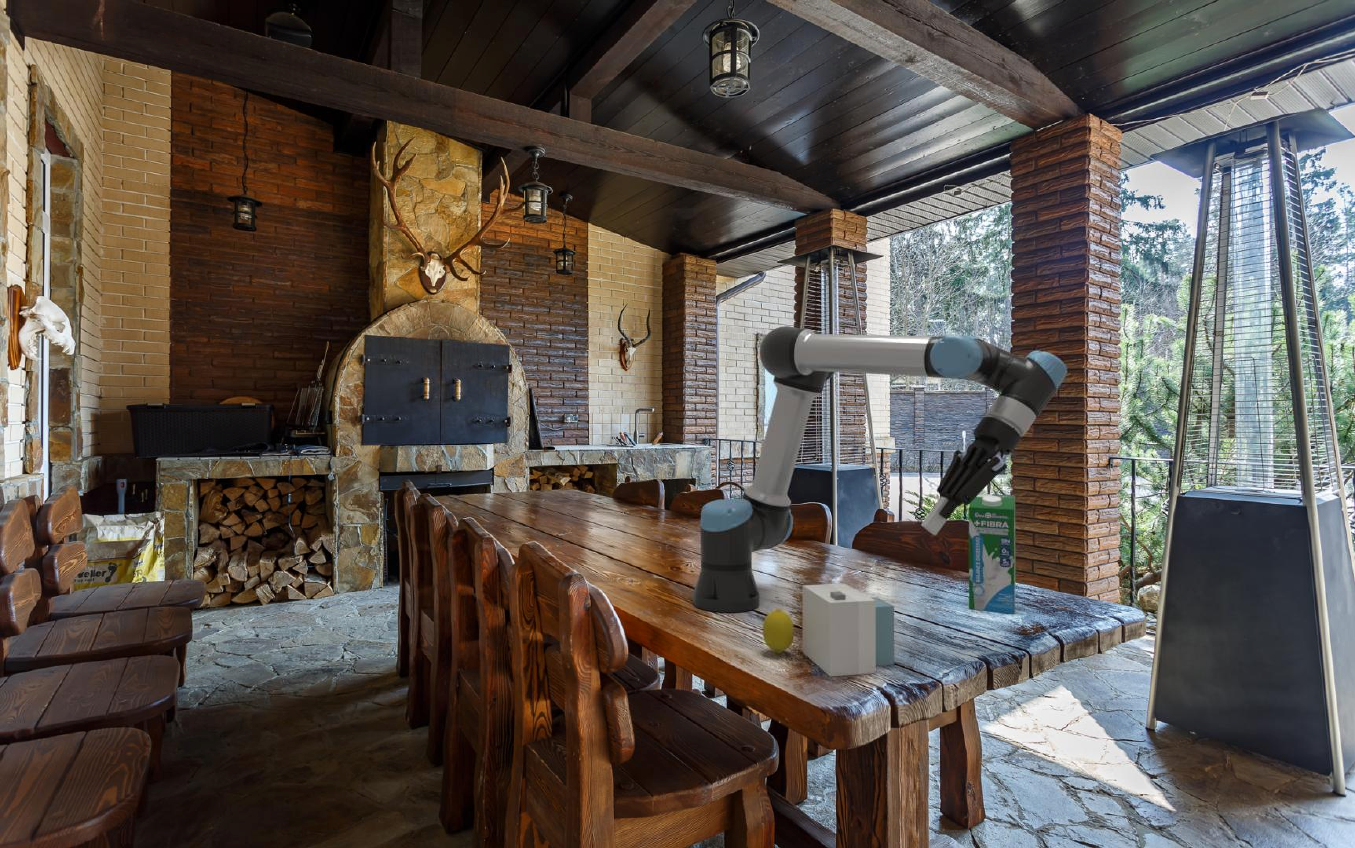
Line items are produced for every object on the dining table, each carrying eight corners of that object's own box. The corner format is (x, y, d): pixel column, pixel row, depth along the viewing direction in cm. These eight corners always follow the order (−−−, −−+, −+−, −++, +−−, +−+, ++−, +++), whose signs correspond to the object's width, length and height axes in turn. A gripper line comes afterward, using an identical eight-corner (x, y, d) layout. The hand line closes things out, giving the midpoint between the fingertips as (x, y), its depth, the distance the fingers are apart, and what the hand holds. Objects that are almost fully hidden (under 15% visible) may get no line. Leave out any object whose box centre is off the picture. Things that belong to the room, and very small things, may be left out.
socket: (802, 652, 121) (802, 581, 121) (844, 649, 122) (843, 579, 122) (830, 676, 109) (830, 597, 109) (875, 673, 111) (875, 595, 111)
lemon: (756, 653, 120) (756, 609, 120) (775, 646, 124) (775, 603, 124) (781, 661, 116) (781, 615, 116) (800, 653, 120) (800, 609, 120)
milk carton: (968, 609, 149) (968, 496, 149) (972, 599, 157) (971, 492, 157) (1014, 614, 144) (1014, 498, 144) (1015, 604, 152) (1015, 494, 152)
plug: (836, 655, 119) (836, 599, 119) (879, 652, 120) (879, 597, 120) (851, 667, 113) (851, 608, 113) (896, 664, 115) (896, 605, 115)
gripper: (1042, 442, 117) (963, 550, 116) (994, 436, 130) (924, 534, 129) (1012, 416, 116) (932, 525, 115) (967, 413, 129) (895, 511, 128)
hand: (928, 530), depth 122 cm, fingers closed
